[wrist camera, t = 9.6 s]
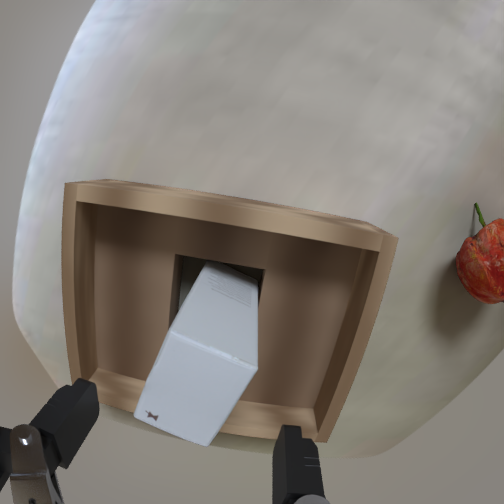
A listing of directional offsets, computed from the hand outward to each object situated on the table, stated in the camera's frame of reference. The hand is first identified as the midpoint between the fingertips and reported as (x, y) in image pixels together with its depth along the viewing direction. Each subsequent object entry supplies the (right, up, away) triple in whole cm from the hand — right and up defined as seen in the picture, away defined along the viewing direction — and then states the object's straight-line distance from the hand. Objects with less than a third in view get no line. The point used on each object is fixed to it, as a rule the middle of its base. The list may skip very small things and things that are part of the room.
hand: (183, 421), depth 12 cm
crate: (0, +3, +13) cm, 13 cm away
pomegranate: (+22, +7, +12) cm, 26 cm away
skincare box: (0, +3, +13) cm, 14 cm away
